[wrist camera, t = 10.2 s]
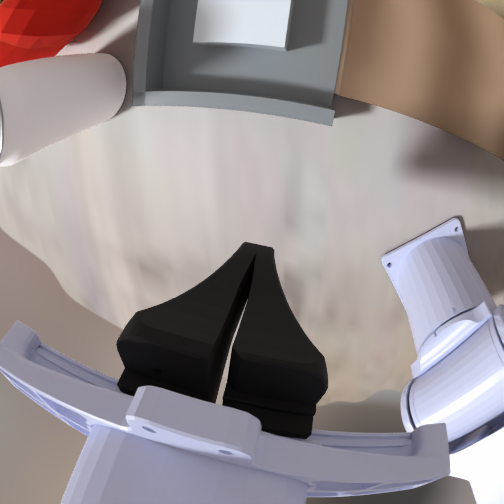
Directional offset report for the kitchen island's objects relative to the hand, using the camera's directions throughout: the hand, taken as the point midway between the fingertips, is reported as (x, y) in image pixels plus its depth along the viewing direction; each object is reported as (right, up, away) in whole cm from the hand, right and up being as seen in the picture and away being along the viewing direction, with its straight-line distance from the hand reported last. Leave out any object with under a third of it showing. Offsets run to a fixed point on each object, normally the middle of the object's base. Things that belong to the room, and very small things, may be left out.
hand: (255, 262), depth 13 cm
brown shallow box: (+12, +14, 0) cm, 18 cm away
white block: (-1, +15, -1) cm, 15 cm away
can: (-13, +14, +5) cm, 20 cm away
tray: (-1, +16, +1) cm, 16 cm away
